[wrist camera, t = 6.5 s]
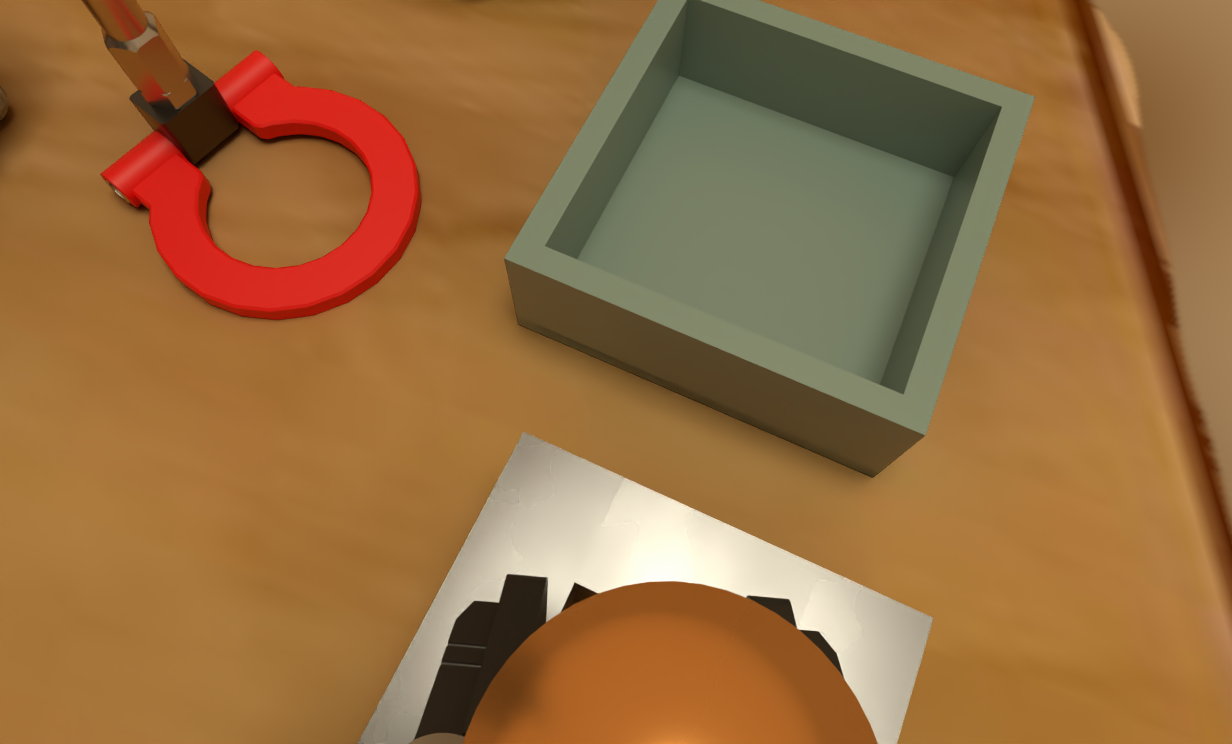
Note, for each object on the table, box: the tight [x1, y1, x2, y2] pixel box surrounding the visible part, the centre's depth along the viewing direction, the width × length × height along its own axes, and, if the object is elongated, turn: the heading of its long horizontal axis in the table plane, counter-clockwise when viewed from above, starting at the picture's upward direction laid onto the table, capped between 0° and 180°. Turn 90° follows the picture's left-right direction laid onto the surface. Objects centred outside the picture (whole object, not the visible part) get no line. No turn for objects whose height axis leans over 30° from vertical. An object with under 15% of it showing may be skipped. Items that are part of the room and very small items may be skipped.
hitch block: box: [358, 432, 933, 744], centre depth 18 cm, size 10×10×4 cm
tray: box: [504, 0, 1035, 477], centre depth 24 cm, size 12×12×4 cm
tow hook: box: [82, 0, 421, 320], centre depth 20 cm, size 8×13×9 cm
